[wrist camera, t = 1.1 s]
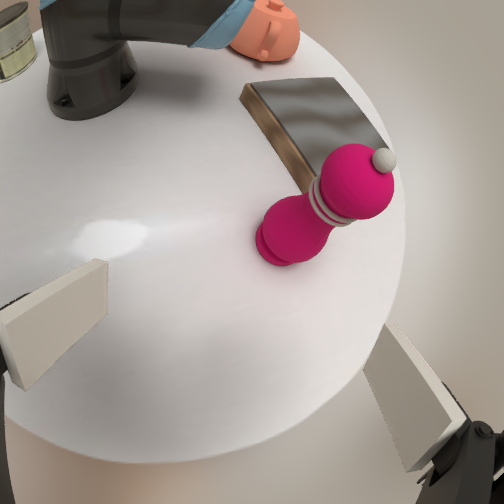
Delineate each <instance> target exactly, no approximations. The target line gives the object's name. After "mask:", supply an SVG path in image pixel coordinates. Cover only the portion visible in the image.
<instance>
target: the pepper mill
mask: <svg viewBox="0 0 504 504" xmlns="http://www.w3.org/2000/svg"><path fill="white" fill-rule="evenodd" d="M395 166H396V156H395V155H394V153H393V152H392V151H391V150H389V149H387V148H380V149H378V150H376V151H375V150H374V149H372V148H370V147H368V146H366V145H362V144H357V143H351V144H345V145H343V146H340V147H338V148H337V149H335V150H334V151H333V152H331V153H330V154H329V155H328V157H327V158H326V159H325V161H324V163H323V165H322V168H321V172H320V173H319V174H318V175H317V176H316V177H315V178H314V179H313V180H312V182H311V184H310V187H309V191H308V192H306V193H305V194H302V195H297V196H289V197H286V198H284V199H281V200H279V201H278V202H277V203H275V204H274V205H273V206H272V207H270V209H269V210H268V211H267V213H266V215H265V217H264V220H263V222H262V224H261V225H260V226H259V228H258V230H257V233H256V245H257V248H258V250H259V252H260V254H261V255H262V256H263V258H264V259H266V260H267V261H268V262H270V263H272V264H274V265H278V266H287V265H290V264H292V263H299V262H304V261H307V260H309V259H311V258H312V257H314V256H315V255H317V254H318V253H319V252H320V251H321V249H322V248H323V247H324V245H325V244H326V242H327V239H328V236H329V234H330V232H331V231H332V229H333V228H335V227H336V226H337V227H343V226H347V225H349V224H351V223H352V222H354V221H356V220H357V219H358V220H363V219H370V218H372V217H375V216H376V215H378V214H379V213H381V212H382V211H383V210H384V209H385V208H386V207H387V206H388V204H389V203H390V201H391V199H392V197H393V193H394V179H393V175H392V172H391V171H392V170H393V169H394V168H395Z"/></svg>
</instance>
